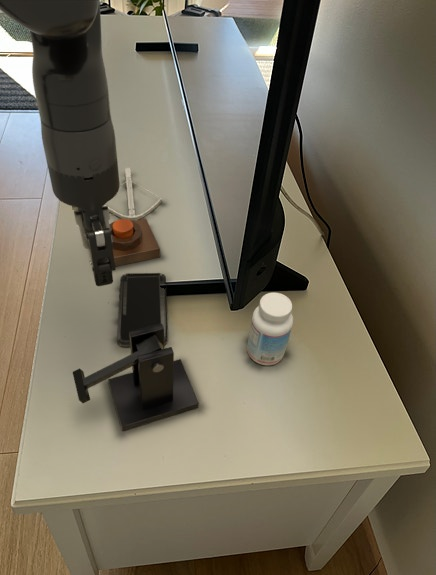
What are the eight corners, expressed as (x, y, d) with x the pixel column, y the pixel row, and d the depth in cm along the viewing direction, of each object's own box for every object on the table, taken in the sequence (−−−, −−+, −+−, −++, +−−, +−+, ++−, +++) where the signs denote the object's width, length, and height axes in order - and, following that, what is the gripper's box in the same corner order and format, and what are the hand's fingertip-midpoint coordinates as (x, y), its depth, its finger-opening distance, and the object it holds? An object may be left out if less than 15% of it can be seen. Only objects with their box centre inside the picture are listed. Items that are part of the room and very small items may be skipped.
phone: (165, 272, 87) (167, 341, 77) (165, 277, 88) (167, 345, 78) (120, 273, 86) (116, 342, 76) (120, 278, 87) (116, 347, 77)
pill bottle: (290, 346, 80) (304, 299, 71) (273, 373, 76) (286, 327, 68) (257, 329, 81) (267, 282, 73) (239, 355, 78) (247, 308, 69)
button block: (100, 269, 88) (98, 253, 85) (90, 237, 94) (87, 221, 91) (160, 257, 91) (159, 241, 89) (146, 227, 97) (145, 210, 94)
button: (116, 240, 88) (115, 233, 87) (111, 228, 90) (110, 220, 89) (135, 237, 89) (135, 229, 88) (130, 224, 92) (130, 217, 90)
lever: (85, 405, 63) (76, 398, 61) (78, 377, 66) (69, 369, 64) (169, 363, 63) (163, 354, 61) (159, 336, 66) (152, 327, 64)
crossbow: (164, 221, 100) (164, 214, 98) (100, 225, 97) (99, 217, 96) (156, 172, 110) (156, 164, 108) (98, 174, 107) (97, 166, 106)
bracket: (122, 431, 67) (115, 379, 58) (108, 383, 72) (100, 328, 63) (198, 407, 71) (203, 355, 61) (180, 363, 76) (182, 308, 66)
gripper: (37, 125, 57) (60, 232, 69) (55, 197, 48) (78, 306, 60) (102, 117, 59) (114, 223, 71) (131, 185, 50) (138, 293, 62)
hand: (97, 261), depth 66 cm, fingers open, 8 cm apart
